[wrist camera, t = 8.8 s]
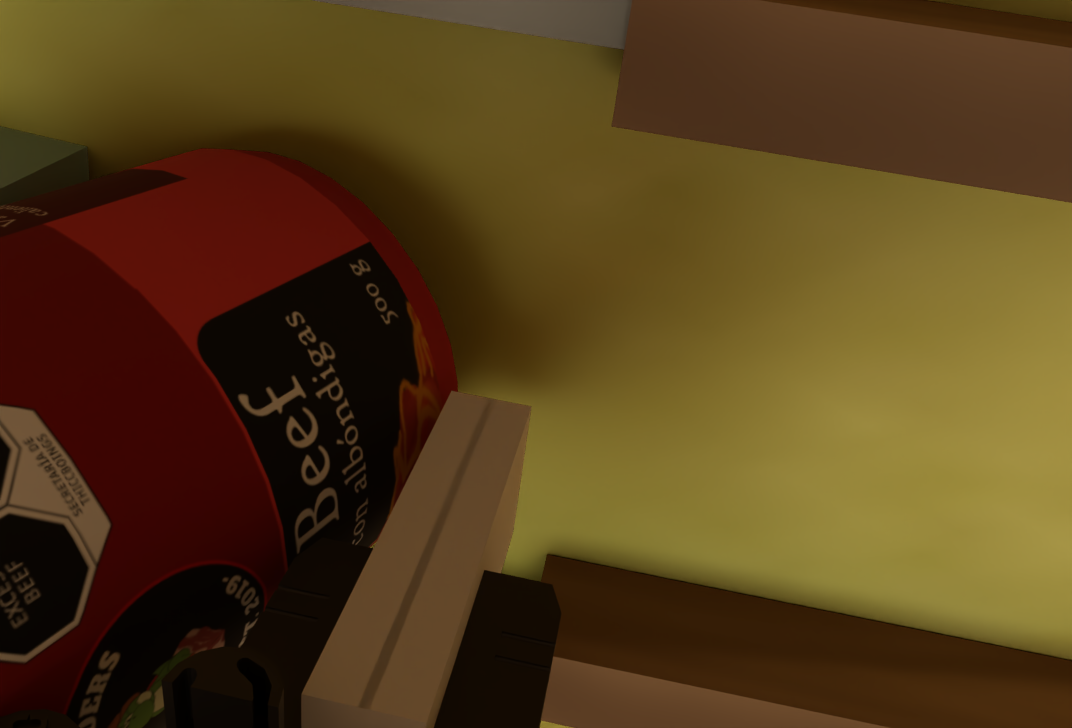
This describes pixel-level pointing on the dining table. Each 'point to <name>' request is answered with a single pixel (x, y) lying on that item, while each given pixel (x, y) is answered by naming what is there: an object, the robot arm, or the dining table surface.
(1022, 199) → the dining table surface
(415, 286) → the canned food
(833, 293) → the dining table surface
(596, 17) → the grey u-shaped frame
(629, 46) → the slot board
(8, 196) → the block
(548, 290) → the dining table surface
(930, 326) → the dining table surface
